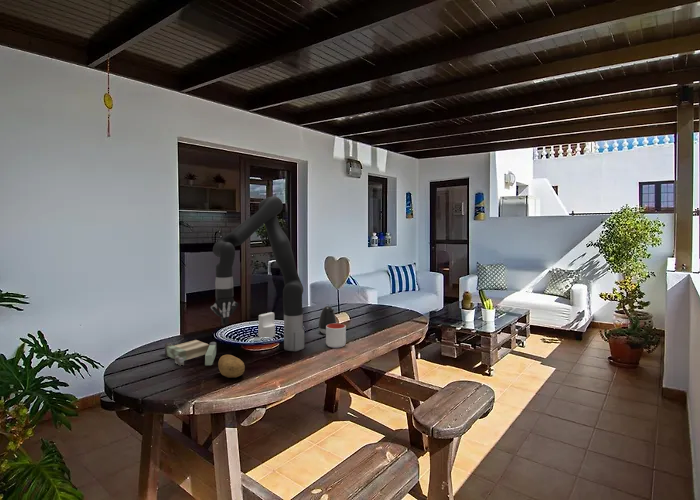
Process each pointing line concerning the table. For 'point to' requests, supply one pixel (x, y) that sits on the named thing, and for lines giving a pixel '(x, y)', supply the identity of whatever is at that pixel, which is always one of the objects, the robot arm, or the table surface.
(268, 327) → the base with upright slab
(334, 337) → the cup
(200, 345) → the stool top
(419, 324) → the table surface
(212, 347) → the leg
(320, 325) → the dark grey rounded piece
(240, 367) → the potato
